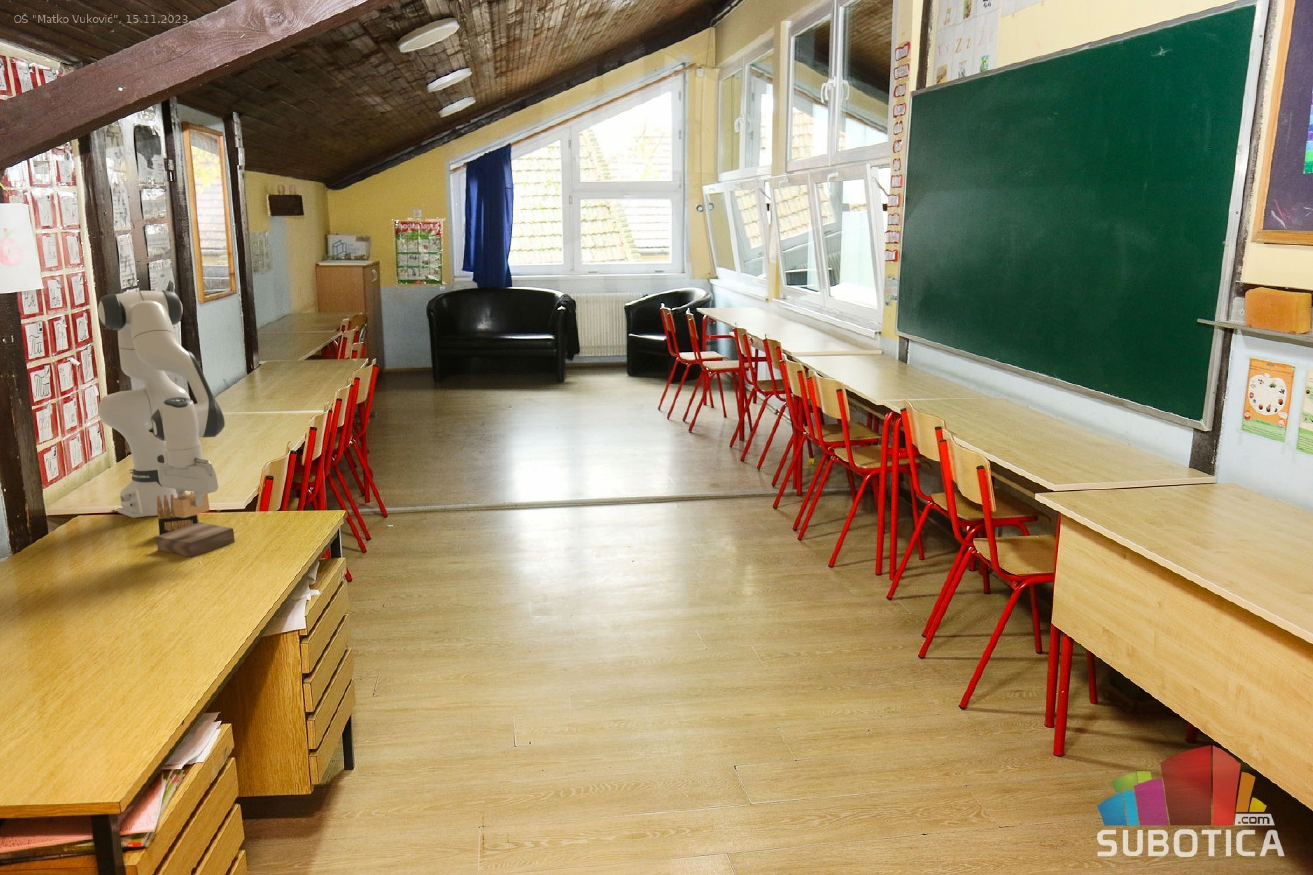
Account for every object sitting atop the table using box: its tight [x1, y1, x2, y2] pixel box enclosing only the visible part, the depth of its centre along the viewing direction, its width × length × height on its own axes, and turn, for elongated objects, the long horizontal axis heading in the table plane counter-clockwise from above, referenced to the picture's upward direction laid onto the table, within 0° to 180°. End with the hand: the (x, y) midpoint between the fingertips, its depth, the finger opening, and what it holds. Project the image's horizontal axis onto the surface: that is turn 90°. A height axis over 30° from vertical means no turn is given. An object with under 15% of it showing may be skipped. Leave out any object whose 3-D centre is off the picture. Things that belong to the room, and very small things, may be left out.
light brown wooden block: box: [173, 492, 210, 518], centre depth 268 cm, size 4×8×5 cm, turn 153°
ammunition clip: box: [157, 491, 200, 535], centre depth 281 cm, size 11×2×12 cm, turn 109°
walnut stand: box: [155, 521, 236, 558], centre depth 270 cm, size 14×14×4 cm
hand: (191, 505), depth 268 cm, fingers closed on light brown wooden block, 4 cm apart
